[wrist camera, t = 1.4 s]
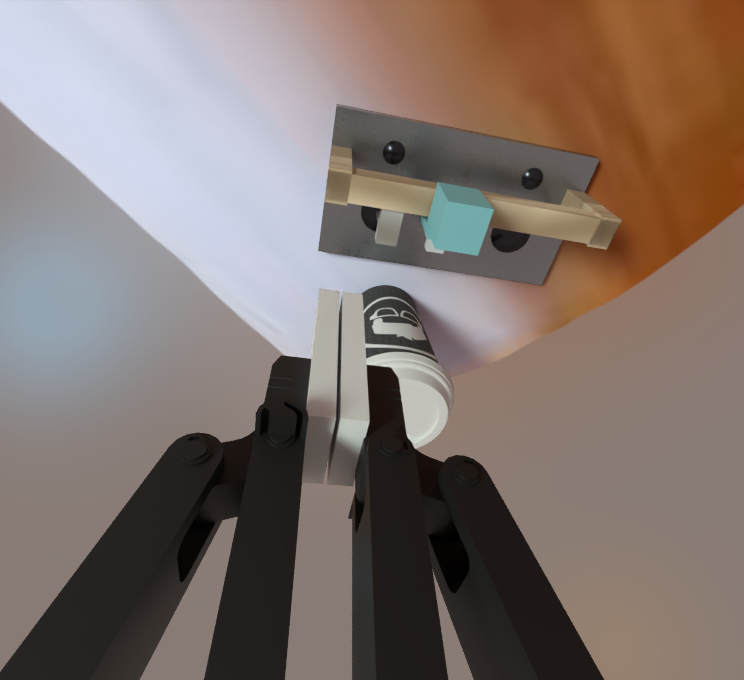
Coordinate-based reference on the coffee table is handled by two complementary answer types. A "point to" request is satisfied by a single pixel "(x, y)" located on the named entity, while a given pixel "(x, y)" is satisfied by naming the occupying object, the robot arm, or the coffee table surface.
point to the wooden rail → (414, 196)
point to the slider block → (456, 220)
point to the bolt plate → (456, 167)
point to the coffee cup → (407, 361)
